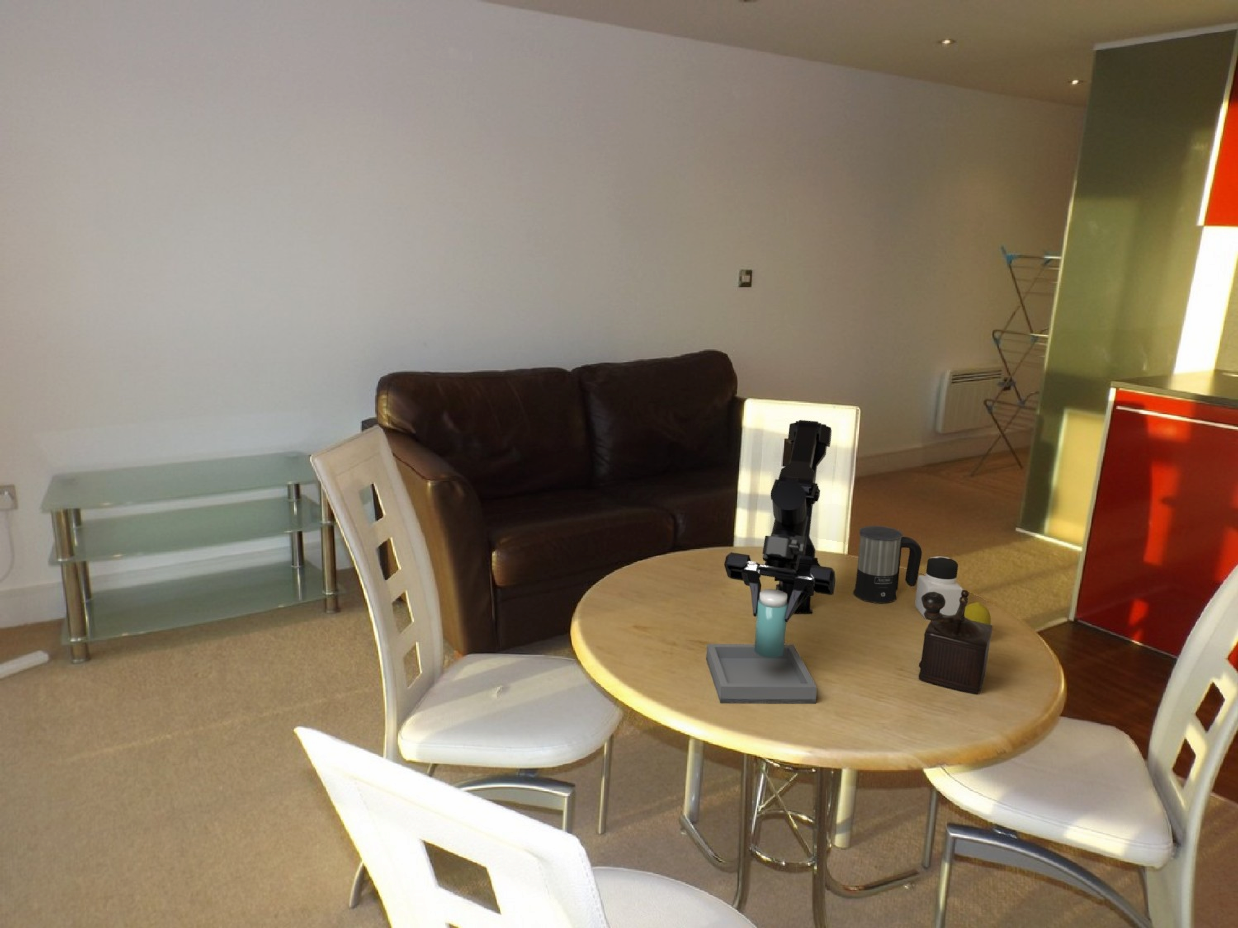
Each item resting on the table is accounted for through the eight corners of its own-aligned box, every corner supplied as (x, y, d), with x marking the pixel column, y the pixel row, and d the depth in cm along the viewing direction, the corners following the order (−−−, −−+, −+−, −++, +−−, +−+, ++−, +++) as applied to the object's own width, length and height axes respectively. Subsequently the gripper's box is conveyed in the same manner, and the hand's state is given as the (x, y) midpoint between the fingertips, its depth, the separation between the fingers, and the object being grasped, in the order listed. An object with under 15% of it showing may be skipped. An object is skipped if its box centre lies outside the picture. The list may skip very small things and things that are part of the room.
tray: (792, 659, 163) (793, 644, 162) (815, 703, 147) (817, 687, 147) (706, 658, 162) (707, 643, 161) (720, 703, 147) (721, 686, 146)
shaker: (769, 642, 156) (774, 586, 154) (789, 653, 152) (794, 596, 150) (748, 648, 154) (752, 592, 151) (768, 660, 149) (772, 602, 147)
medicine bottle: (959, 620, 183) (966, 566, 180) (924, 619, 183) (931, 564, 180) (947, 607, 190) (954, 554, 187) (914, 605, 190) (920, 552, 187)
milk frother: (869, 606, 189) (877, 540, 185) (826, 580, 203) (832, 518, 199) (923, 598, 194) (931, 534, 190) (877, 573, 208) (884, 513, 205)
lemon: (988, 637, 175) (993, 599, 173) (987, 648, 170) (992, 609, 168) (958, 631, 177) (963, 594, 175) (956, 642, 172) (961, 604, 171)
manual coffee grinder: (924, 657, 166) (935, 566, 162) (987, 672, 161) (1000, 578, 156) (907, 691, 153) (919, 594, 148) (975, 708, 148) (989, 608, 143)
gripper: (730, 508, 154) (709, 589, 147) (839, 523, 148) (823, 609, 140) (738, 537, 163) (719, 615, 156) (841, 553, 157) (826, 635, 149)
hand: (770, 618), depth 150 cm, fingers closed on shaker, 5 cm apart
